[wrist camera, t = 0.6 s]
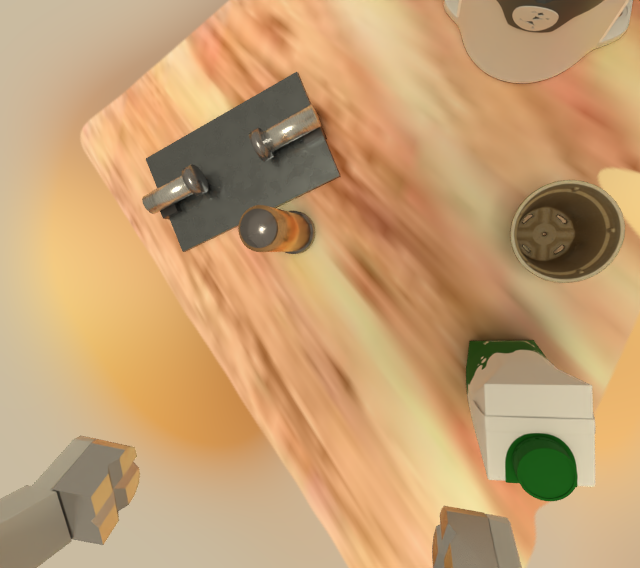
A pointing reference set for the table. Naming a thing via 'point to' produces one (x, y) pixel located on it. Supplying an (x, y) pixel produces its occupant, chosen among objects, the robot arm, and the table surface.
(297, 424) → the table surface
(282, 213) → the amber capped cylinder
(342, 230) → the table surface
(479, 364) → the milk carton
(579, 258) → the flower pot
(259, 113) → the shaft bench
